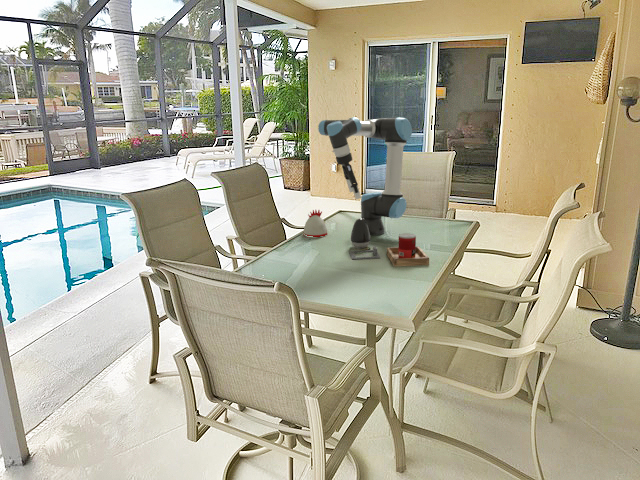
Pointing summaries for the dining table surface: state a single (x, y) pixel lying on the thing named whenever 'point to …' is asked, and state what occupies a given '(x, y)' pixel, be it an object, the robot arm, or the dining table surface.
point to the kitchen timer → (315, 225)
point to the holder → (365, 251)
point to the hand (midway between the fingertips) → (355, 194)
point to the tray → (418, 260)
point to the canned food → (407, 245)
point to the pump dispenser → (360, 234)
